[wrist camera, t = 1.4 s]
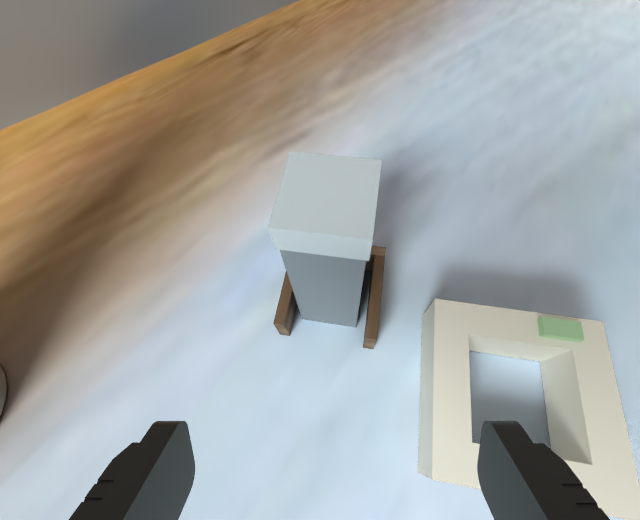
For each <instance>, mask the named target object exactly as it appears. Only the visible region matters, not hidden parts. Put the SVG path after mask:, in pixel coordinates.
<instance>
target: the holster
mask: <svg viewBox="0 0 640 520" xmlns="http://www.w3.org/2000/svg"><path fill="white" fill-rule="evenodd" d="M385 249H386V247H378V246H372V247H371V253H370V259H369V261H366V264H365V270H367V271H372V272H371V281H370V290H369V299H368V308H367V317H366V326H365V335H364V344H363V348H370V349H373V348H374V346H375V343H376V341H377V334H378V323H379V313H380V302H381V291H382V281H383V270H384V259H385ZM296 303H297V301H296V298H295V295H294V292H293V289H292V286H291V283H290V280H289V277H288V274H287V271H286V274H285V278H284V282H283V286H282V290H281V295H280V299H279V303H278V307H277V311H276V315H275V319H274V325H275V327H276V328H277V330H278V332H279V333H280V334H282V335H288V336H290V331H291V326H292V322H293V317H294V313H295V308H296Z"/></svg>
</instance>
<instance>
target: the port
mask: <svg viewBox="0 0 640 520" xmlns="http://www.w3.org/2000/svg"><path fill="white" fill-rule="evenodd" d="M469 351H474V352H481V353H487V354H494V355H500V356H507V357H513V358H520V359H526V360H533V361H539V362H540V367H541V375H542V383H543V391H544V398H545V406H546V414H547V422H548V430H549V438H550V445H551V450H552V451H553V452H554V453H555V454H557V455H558V456H559V457H560V458H562V459H563V460H564V461H565V462H566V463H567V464H568V466H569V467H570V468H571V469H572V471H573V472H574V473H575V475H576V476H577V477H578V479H579V480H580V481H581V483H582V484H583V488H586V489H587V490H588V492H589V493H590V494H591V496H592V497H593V498H594V500H595V501H596V502H597V505H598V507H599V508H601V509H602V510H603V511H604V513H605V514H606V515H608V516H613V517H618V518H623V519H627V520H640V484H639V480H638V475H637V471H636V467H635V462H634V458H633V453H632V449H631V444H630V440H629V435H628V431H627V426H626V422H625V418H624V413H623V409H622V404H621V400H620V395H619V391H618V386H617V382H616V378H615V373H614V369H613V364H612V360H611V355H610V351H609V346H608V342H607V337H606V333H605V329H604V324H603V322H602V321H595V320H588V319H581V318H573V317H566V316H559V315H551V314H544V313H537V312H529V311H522V310H515V309H508V308H500V307H493V306H486V305H478V304H471V303H464V302H457V301H449V300H442V299H434V300H433V302H432V303H431V305H430V306H429V307H428V309H427V310H426V312H425V313H424V315H423V316H422V345H421V377H420V408H419V439H418V470H417V472H418V473H420V474H422V475H424V476H426V477H428V478H430V479H432V480H436V481H441V482H446V483H451V484H456V485H461V486H466V487H471V488H476V489H481V487H480V483H479V479H478V472H477V463H478V455H479V447H480V444H477V443H472V422H471V392H470V362H469Z"/></svg>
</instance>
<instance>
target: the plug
mask: <svg viewBox="0 0 640 520" xmlns="http://www.w3.org/2000/svg"><path fill="white" fill-rule="evenodd" d="M381 164H382V160H380V159H369V158H357V157H346V156H334V155H323V154H312V153H300V152H290V153H289V156H288V160H287V163H286V167H285V170H284V174H283V177H282V180H281V184H280V187H279V191H278V194H277V198H276V201H275V205H274V208H273V211H272V215H271V218H270V222H269V225H268V230H269V232H270V235H271V238H272V241H273V244H274V247H275V249H278V250H280V252H281V255H282V258H283V261H284V265H285V268H286V271H287V274H288V277H289V280H290V283H291V286H292V289H293V292H294V295H295V298H296V301H297V305H298V308H299V311H300V314H301V317H302V319H305V320H312V321H319V322H325V323H332V324H338V325H345V326H351V327H356V324H357V317H358V311H359V304H360V297H361V291H362V284H363V277H364V271H365V264H366V261H369V259H370V253H371V247H372V241H373V233H374V224H375V216H376V207H377V198H378V190H379V181H380V173H381Z"/></svg>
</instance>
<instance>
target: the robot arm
mask: <svg viewBox="0 0 640 520" xmlns="http://www.w3.org/2000/svg"><path fill="white" fill-rule="evenodd" d="M6 389H7V385H6V378H5V374H4V372H3V370H2V368H1V366H0V415H1V413H2V410H3V406H4V403H5V399H6ZM477 472H478V479H479V483H480V487H481V490H482V493H483V495H484V497H485V500H486V502H487V504H488V506H489V508H490V511H491V513H492V515H493V517H494V520H610V519H609V518H608V517H607V515H606V514H605V513H604V511H603V510H602V509H601V508H599V507H598V505H597V502H596V501H595V500H594V498H593V497H592V496H591V494H590V493H589V492H588V490H587V489H586V488H583V484H582V483H581V481H580V480H579V479H578V477H577V476H576V475H575V473H574V472H573V471H572V469H571V468H570V467H569V466H568V464H567V463H566V462H565V461H564V460H563V459H562V458H560V457H559V456H558V455H557V454H555V453H554V452H553V451H552V450H550V449H549V448H548V447H547V446H546V445H544V444H533V442H532V441H531V439H530V438H529V436H528V435H527V434H526V432H525V431H524V429H523V428H522V427H521V425H520V424H519V423H518V422H516V421H485V422H484V423H483V425H482V432H481V440H480V447H479V455H478V463H477ZM194 475H195V461H194V456H193V451H192V446H191V440H190V435H189V430H188V426H187V423H186V422H185V421H157V422H155V423H154V424H153V425H152V426H151V427H150V429H149V430H148V432H147V433H146V435H145V436H144V437H143V439H142V440H141V442H140V443H131V444H130V445H129V446H128V447H127V448H126V449H124V450H123V451H122V452H121V453H120V454H119V455H117V456H116V457H115V458H114V459H113V460H112V461H111V462H110V464H109V465H108V467H107V468H106V469H105V471H104V472H103V473H102V475H101V476H100V478H99V479H98V482H97V484H94V486H93V487H92V489H91V490H90V491H89V493H88V494H87V495H86V497H85V500H84V502H81V504H80V505H79V506H78V508H77V509H76V511H75V512H74V513H73V515H72V516H71V517H70V519H69V520H178V519H179V516H180V514H181V512H182V509H183V507H184V505H185V502H186V500H187V498H188V495H189V493H190V491H191V488H192V485H193V481H194Z"/></svg>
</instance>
